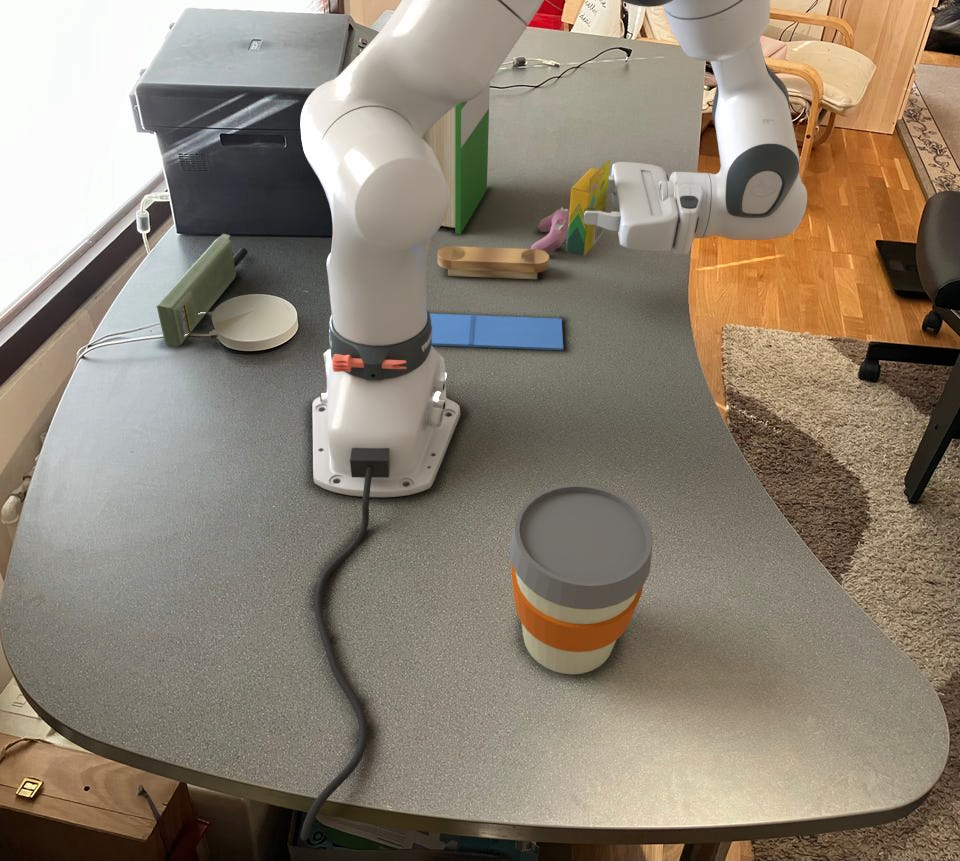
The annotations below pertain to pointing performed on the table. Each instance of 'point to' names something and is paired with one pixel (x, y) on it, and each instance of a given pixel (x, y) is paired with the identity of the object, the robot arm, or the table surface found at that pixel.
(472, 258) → the scrub brush
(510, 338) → the blue cloth
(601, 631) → the reusable coffee cup
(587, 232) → the crayon box
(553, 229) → the video game controller
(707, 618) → the table surface
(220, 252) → the handheld radio
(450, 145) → the hardback book
